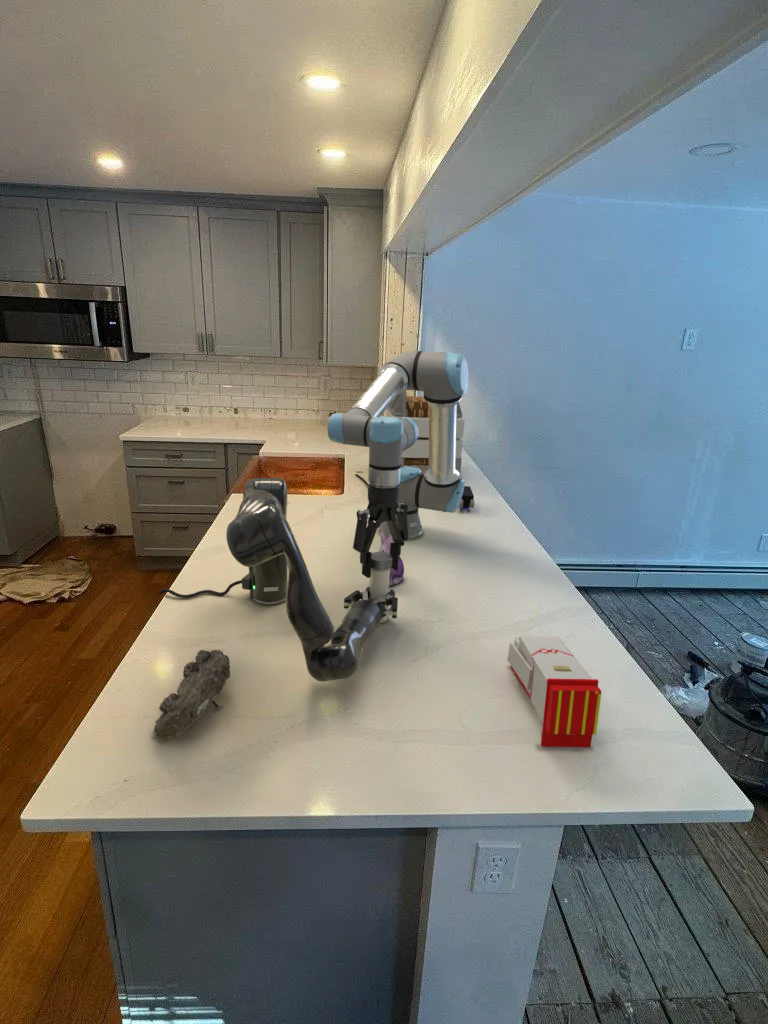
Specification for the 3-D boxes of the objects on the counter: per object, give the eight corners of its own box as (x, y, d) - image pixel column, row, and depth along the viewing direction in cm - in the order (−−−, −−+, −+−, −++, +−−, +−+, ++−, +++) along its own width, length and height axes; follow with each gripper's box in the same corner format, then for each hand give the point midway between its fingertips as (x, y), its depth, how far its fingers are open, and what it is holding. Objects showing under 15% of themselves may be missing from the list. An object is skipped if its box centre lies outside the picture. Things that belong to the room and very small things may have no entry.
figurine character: (474, 517, 223) (468, 500, 237) (476, 499, 220) (470, 484, 233) (457, 516, 223) (452, 500, 236) (459, 499, 220) (454, 483, 233)
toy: (555, 619, 129) (611, 687, 100) (550, 674, 132) (602, 754, 102) (502, 618, 128) (542, 685, 99) (498, 673, 131) (536, 754, 102)
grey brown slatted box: (382, 463, 289) (386, 382, 275) (445, 464, 293) (451, 384, 279) (390, 482, 257) (394, 392, 243) (460, 483, 261) (468, 394, 247)
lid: (369, 570, 137) (369, 561, 136) (368, 560, 143) (368, 551, 142) (392, 570, 138) (393, 561, 137) (391, 560, 143) (391, 551, 142)
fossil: (181, 651, 120) (231, 619, 115) (213, 681, 123) (262, 651, 118) (130, 732, 101) (187, 698, 96) (169, 765, 103) (226, 734, 99)
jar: (389, 621, 144) (392, 562, 138) (371, 623, 142) (373, 564, 137) (384, 612, 148) (387, 554, 142) (366, 614, 147) (368, 556, 141)
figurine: (383, 590, 159) (385, 540, 154) (367, 575, 168) (368, 528, 163) (412, 584, 163) (415, 536, 158) (395, 569, 172) (397, 523, 167)
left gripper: (390, 614, 127) (410, 581, 142) (331, 602, 131) (356, 572, 146) (389, 643, 129) (408, 608, 145) (330, 630, 133) (355, 598, 149)
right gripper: (408, 474, 142) (403, 557, 149) (338, 486, 130) (336, 575, 138) (427, 482, 136) (421, 568, 144) (356, 495, 124) (353, 587, 132)
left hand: (382, 590), depth 145 cm, fingers closed on jar, 4 cm apart
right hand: (380, 571), depth 141 cm, fingers open, 8 cm apart
